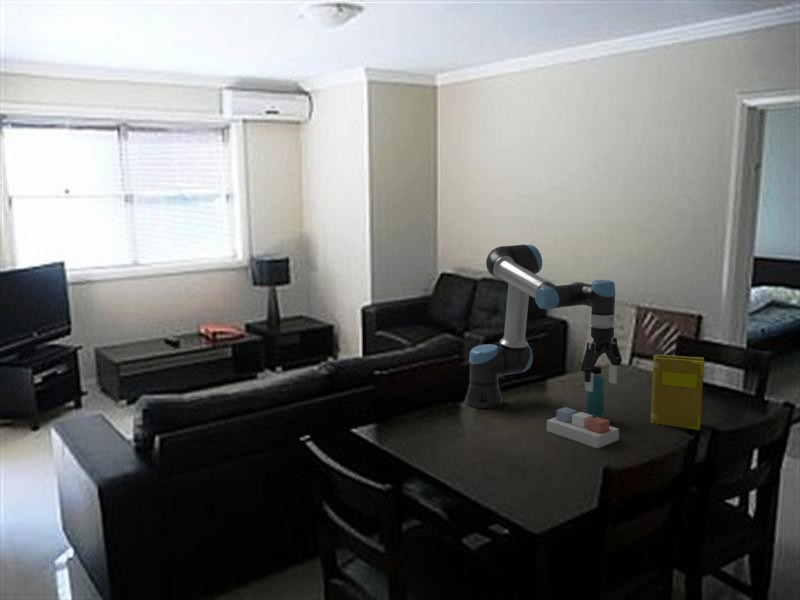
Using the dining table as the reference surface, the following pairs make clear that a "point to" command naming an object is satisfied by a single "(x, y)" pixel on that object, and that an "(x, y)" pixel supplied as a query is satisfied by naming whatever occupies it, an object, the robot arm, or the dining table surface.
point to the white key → (581, 419)
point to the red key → (599, 425)
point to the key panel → (582, 433)
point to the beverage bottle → (596, 395)
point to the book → (677, 391)
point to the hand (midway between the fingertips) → (601, 387)
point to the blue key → (565, 414)
